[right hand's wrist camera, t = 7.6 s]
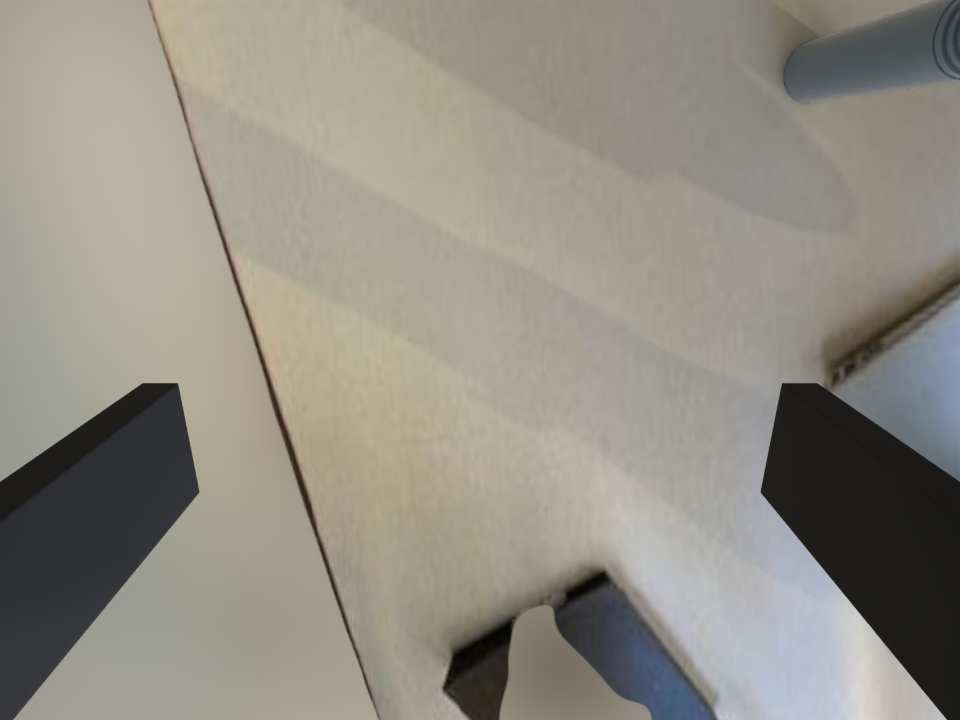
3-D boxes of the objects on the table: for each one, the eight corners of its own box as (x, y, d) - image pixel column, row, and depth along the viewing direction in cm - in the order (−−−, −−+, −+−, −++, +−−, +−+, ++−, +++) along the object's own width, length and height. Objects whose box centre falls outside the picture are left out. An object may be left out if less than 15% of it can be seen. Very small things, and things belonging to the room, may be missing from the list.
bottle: (833, 104, 48) (1086, 72, 28) (777, 101, 48) (990, 67, 28) (848, 40, 46) (1128, -42, 26) (790, 37, 46) (1027, -48, 26)
